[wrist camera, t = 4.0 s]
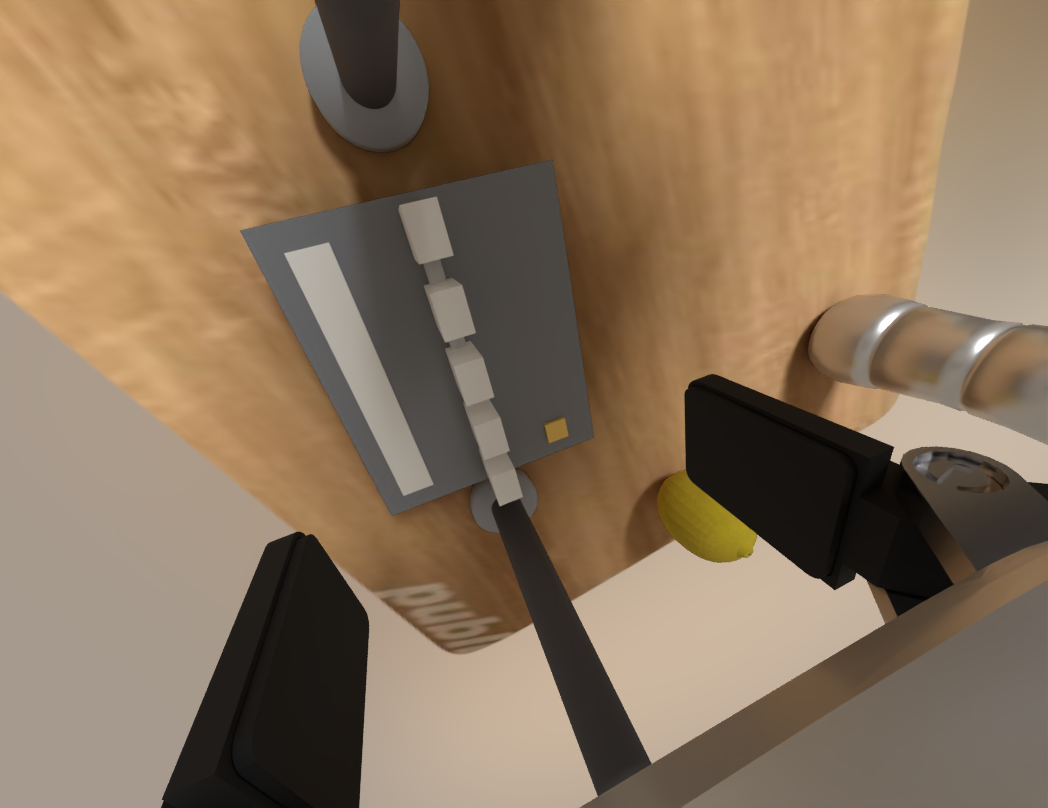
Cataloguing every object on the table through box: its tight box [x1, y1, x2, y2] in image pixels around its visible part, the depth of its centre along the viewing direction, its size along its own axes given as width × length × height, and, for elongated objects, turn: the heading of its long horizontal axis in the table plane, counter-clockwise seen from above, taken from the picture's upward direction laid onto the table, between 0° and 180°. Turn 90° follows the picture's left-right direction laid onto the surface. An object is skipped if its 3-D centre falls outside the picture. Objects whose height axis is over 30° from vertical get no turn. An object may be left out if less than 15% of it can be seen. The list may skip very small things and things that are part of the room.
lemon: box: [657, 470, 757, 563], centre depth 26 cm, size 6×6×8 cm
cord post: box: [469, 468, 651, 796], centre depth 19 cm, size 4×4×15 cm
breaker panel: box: [240, 160, 594, 516], centre depth 18 cm, size 14×12×3 cm
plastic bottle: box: [808, 294, 1048, 445], centre depth 20 cm, size 6×7×20 cm
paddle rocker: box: [398, 196, 523, 506], centre depth 16 cm, size 13×1×3 cm, turn 13°
